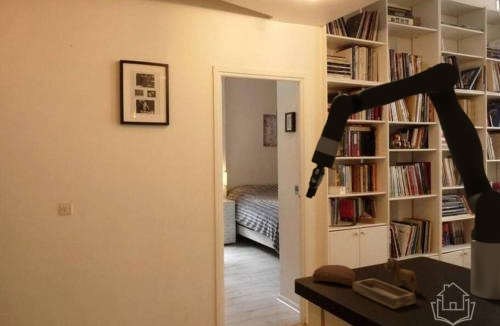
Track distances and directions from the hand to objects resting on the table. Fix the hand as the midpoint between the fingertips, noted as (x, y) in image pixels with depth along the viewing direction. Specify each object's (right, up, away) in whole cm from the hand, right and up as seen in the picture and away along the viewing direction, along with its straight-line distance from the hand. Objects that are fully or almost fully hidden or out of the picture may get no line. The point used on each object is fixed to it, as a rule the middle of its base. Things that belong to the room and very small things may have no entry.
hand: (310, 196), depth 134 cm
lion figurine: (+30, -30, -5) cm, 43 cm away
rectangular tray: (+21, -30, -12) cm, 39 cm away
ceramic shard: (+11, -31, +6) cm, 33 cm away
